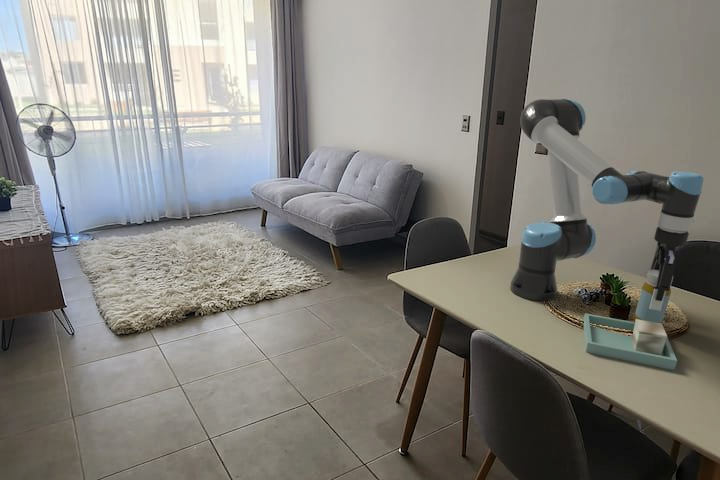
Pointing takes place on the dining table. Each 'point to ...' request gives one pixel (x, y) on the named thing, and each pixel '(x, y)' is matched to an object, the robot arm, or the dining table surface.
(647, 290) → the bottle
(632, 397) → the dining table surface
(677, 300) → the dining table surface
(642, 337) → the beige rectangular box
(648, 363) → the tote
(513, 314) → the dining table surface
